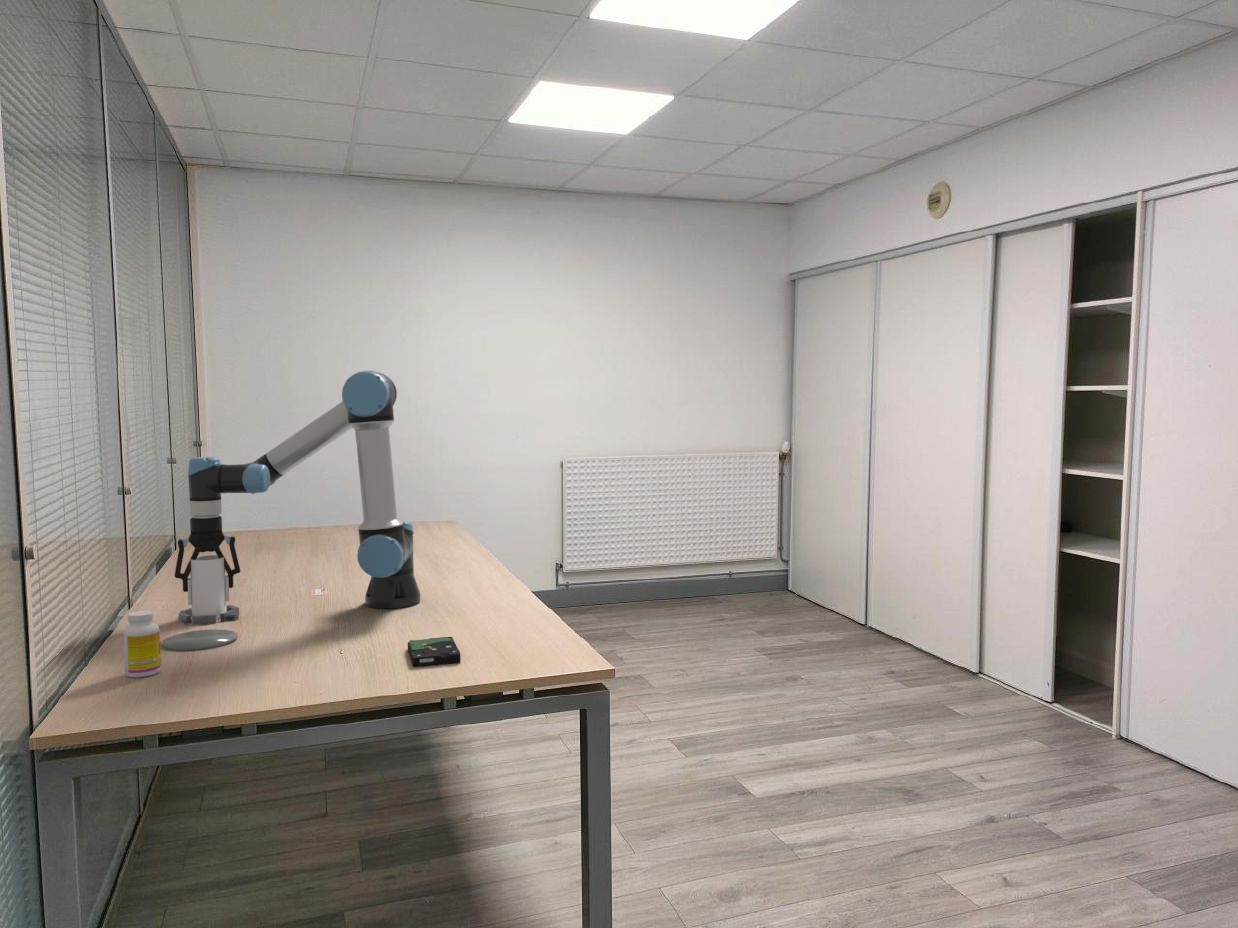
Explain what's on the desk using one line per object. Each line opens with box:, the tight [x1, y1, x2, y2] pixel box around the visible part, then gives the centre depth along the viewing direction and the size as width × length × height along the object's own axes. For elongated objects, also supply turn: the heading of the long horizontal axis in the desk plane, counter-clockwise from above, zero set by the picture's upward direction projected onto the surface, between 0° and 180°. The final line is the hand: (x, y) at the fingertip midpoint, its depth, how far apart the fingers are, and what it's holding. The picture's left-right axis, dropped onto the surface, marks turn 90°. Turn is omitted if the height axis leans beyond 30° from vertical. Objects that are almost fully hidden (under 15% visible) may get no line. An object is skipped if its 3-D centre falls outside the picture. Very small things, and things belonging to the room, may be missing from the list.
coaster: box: [161, 629, 238, 652], centre depth 209 cm, size 16×16×1 cm
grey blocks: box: [178, 604, 240, 626], centre depth 231 cm, size 17×14×2 cm
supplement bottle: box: [122, 610, 162, 679], centre depth 184 cm, size 7×7×13 cm
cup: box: [189, 554, 227, 621], centre depth 231 cm, size 8×8×16 cm
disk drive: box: [407, 636, 462, 668], centre depth 197 cm, size 10×3×15 cm
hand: (208, 601), depth 231 cm, fingers closed on cup, 8 cm apart
